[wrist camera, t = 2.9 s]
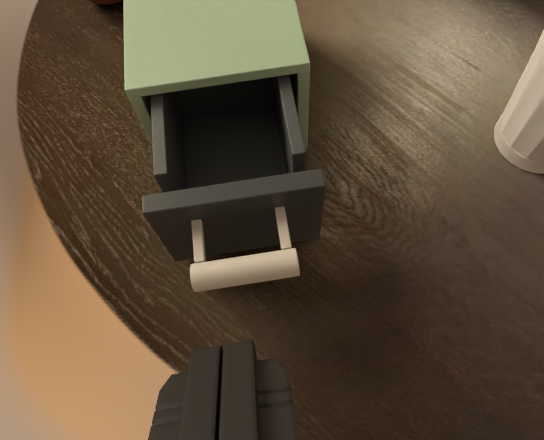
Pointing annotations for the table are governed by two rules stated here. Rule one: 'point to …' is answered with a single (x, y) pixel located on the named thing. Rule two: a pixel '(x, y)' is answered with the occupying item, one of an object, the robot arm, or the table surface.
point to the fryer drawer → (233, 181)
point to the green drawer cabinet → (212, 48)
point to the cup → (525, 118)
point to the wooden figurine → (106, 1)
